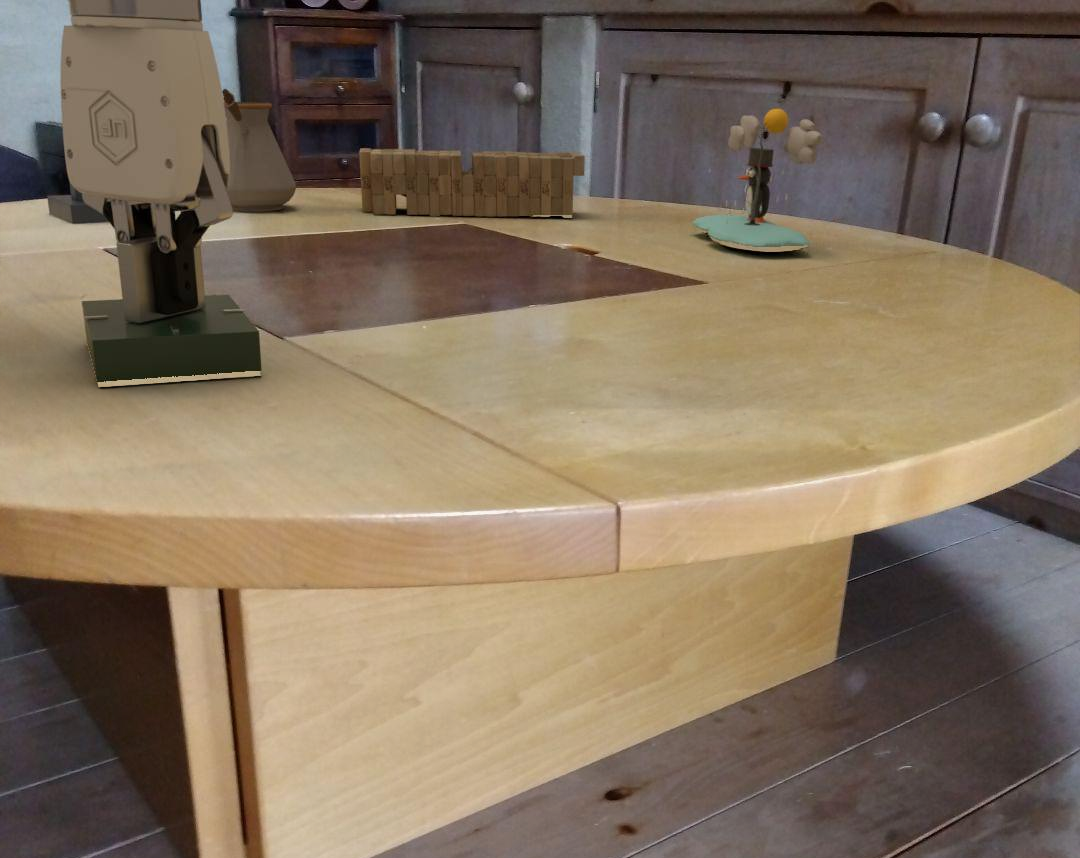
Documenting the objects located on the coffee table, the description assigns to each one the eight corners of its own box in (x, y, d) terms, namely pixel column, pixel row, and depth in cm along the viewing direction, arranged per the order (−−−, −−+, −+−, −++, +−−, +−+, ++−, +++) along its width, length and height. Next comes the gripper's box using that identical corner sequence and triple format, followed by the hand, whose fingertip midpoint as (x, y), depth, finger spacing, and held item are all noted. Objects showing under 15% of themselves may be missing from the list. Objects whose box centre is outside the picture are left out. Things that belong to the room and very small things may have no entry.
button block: (72, 224, 129) (68, 188, 127) (49, 214, 135) (44, 180, 134) (158, 219, 135) (155, 185, 133) (132, 210, 141) (128, 177, 139)
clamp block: (96, 388, 69) (89, 337, 68) (85, 343, 79) (79, 298, 78) (263, 376, 73) (260, 328, 72) (233, 335, 83) (230, 292, 82)
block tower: (361, 221, 145) (584, 219, 148) (357, 153, 142) (586, 151, 145) (364, 213, 153) (576, 210, 155) (360, 147, 149) (577, 146, 152)
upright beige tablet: (140, 324, 72) (131, 240, 70) (124, 321, 73) (115, 238, 70) (206, 308, 77) (199, 229, 75) (190, 305, 77) (184, 227, 75)
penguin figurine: (685, 231, 142) (696, 102, 136) (767, 233, 143) (781, 105, 137) (726, 258, 123) (740, 110, 117) (819, 260, 125) (839, 114, 118)
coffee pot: (215, 201, 152) (206, 82, 146) (302, 203, 153) (296, 85, 147) (183, 224, 132) (171, 87, 126) (282, 226, 133) (275, 90, 127)
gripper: (-8, -3, 67) (36, 303, 75) (190, 1, 61) (216, 336, 68) (91, 4, 74) (122, 286, 81) (279, 8, 67) (295, 314, 74)
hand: (165, 307), depth 74 cm, fingers closed
